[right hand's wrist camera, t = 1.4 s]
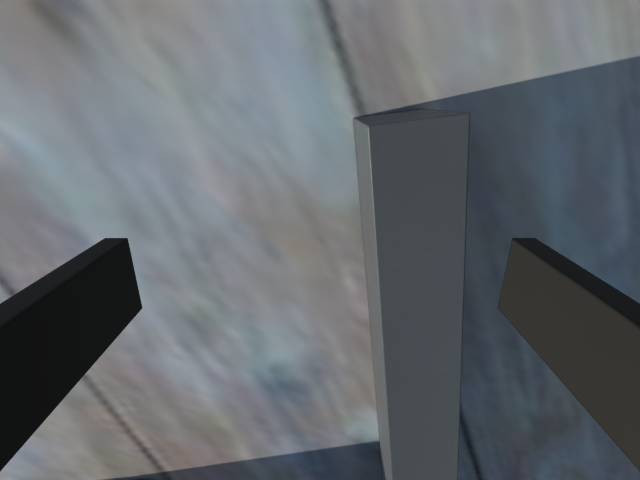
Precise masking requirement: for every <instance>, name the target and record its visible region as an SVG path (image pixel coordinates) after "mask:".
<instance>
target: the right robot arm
mask: <svg viewBox="0 0 640 480" xmlns="http://www.w3.org/2000/svg"><path fill="white" fill-rule="evenodd" d="M141 309H142V304H141V300H140V295H139V290H138V286H137V281H136V276H135V271H134V267H133V262H132V257H131V252H130V248H129V243H128V238H105V239H103V240H101V241H100V242H98V243H97V244H95V245H93V246H92V247H90V248H89V249H87V250H85V251H84V252H82V253H81V254H79V255H77V256H76V257H74V258H73V259H71V260H69V261H68V262H66V263H65V264H63V265H61V266H60V267H58V268H57V269H55V270H54V271H52V272H50V273H49V274H47V275H46V276H44V277H42V278H41V279H39V280H38V281H36V282H34V283H33V284H31V285H30V286H28V287H26V288H25V289H23V290H22V291H20V292H18V293H17V294H15V295H14V296H12V297H10V298H9V299H7V300H6V301H4V302H2V303H1V304H0V471H1V470H2V469H3V468H4V466H5V465H6V464H7V463H8V462H9V461H10V459H11V458H12V457H13V456H14V455H15V454H16V453H17V451H18V450H19V449H20V448H21V447H22V446H23V445H24V443H25V442H26V441H27V440H28V439H29V438H30V436H31V435H32V434H33V433H34V432H35V431H36V430H37V428H38V427H39V426H40V425H41V424H42V423H43V422H44V420H45V419H46V418H47V417H48V416H49V415H50V413H51V412H52V411H53V410H54V409H55V408H56V407H57V405H58V404H59V403H60V402H61V401H62V400H63V399H64V397H65V396H66V395H67V394H68V393H69V392H70V390H71V389H72V388H73V387H74V386H75V385H76V384H77V382H78V381H79V380H80V379H81V378H82V377H83V376H84V374H85V373H86V372H87V371H88V370H89V369H90V368H91V366H92V365H93V364H94V363H95V362H96V361H97V359H98V358H99V357H100V356H101V355H102V354H103V353H104V351H105V350H106V349H107V348H108V347H109V346H110V345H111V343H112V342H113V341H114V340H115V339H116V338H117V336H118V335H119V334H120V333H121V332H122V331H123V330H124V328H125V327H126V326H127V325H128V324H129V323H130V322H131V320H132V319H133V318H134V317H135V316H136V315H137V313H138V312H139V311H140V310H141ZM498 309H499V310H500V311H501V312H502V313H503V315H504V316H505V317H506V318H507V319H508V320H509V322H510V323H511V324H512V325H513V326H514V327H515V328H516V330H517V331H518V332H519V333H520V334H521V335H522V336H523V338H524V339H525V340H526V341H527V342H528V343H529V345H530V346H531V347H532V348H533V349H534V350H535V351H536V353H537V354H538V355H539V356H540V357H541V358H542V359H543V361H544V362H545V363H546V364H547V365H548V366H549V368H550V369H551V370H552V371H553V372H554V373H555V374H556V376H557V377H558V378H559V379H560V380H561V381H562V382H563V384H564V385H565V386H566V387H567V388H568V389H569V390H570V392H571V393H572V394H573V395H574V396H575V397H576V399H577V400H578V401H579V402H580V403H581V404H582V405H583V407H584V408H585V409H586V410H587V411H588V412H589V413H590V415H591V416H592V417H593V418H594V419H595V420H596V422H597V423H598V424H599V425H600V426H601V427H602V428H603V430H604V431H605V432H606V433H607V434H608V435H609V436H610V438H611V439H612V440H613V441H614V442H615V443H616V445H617V446H618V447H619V448H620V449H621V450H622V451H623V453H624V454H625V455H626V456H627V457H628V458H629V459H630V461H631V462H632V463H633V464H634V465H635V466H636V468H637V469H638V470H639V471H640V304H639V303H638V302H636V301H634V300H633V299H631V298H630V297H628V296H626V295H625V294H623V293H622V292H620V291H618V290H617V289H615V288H614V287H612V286H610V285H609V284H607V283H606V282H604V281H602V280H601V279H599V278H598V277H596V276H594V275H593V274H591V273H590V272H588V271H586V270H585V269H583V268H582V267H580V266H579V265H577V264H575V263H574V262H572V261H571V260H569V259H567V258H566V257H564V256H563V255H561V254H559V253H558V252H556V251H555V250H553V249H551V248H550V247H548V246H547V245H545V244H543V243H542V242H540V241H539V240H537V239H535V238H512V243H511V248H510V252H509V257H508V262H507V267H506V271H505V276H504V281H503V286H502V290H501V295H500V300H499V304H498Z"/></svg>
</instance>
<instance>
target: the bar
mask: <svg viewBox="0 0 640 480" xmlns="http://www.w3.org/2000/svg"><path fill="white" fill-rule="evenodd" d="M353 125H354V137H355V149H356V162H357V174H358V186H359V198H360V210H361V222H362V234H363V247H364V259H365V271H366V283H367V295H368V307H369V319H370V332H371V344H372V356H373V368H374V380H375V392H376V404H377V417H378V429H379V441H380V453H381V465H382V477H383V480H458V454H459V425H460V395H461V365H462V335H463V305H464V275H465V245H466V216H467V186H468V156H469V126H470V114H469V113H463V112H452V111H440V110H429V109H418V110H410V111H403V112H395V113H387V114H379V115H371V116H364V117H356V118H353Z"/></svg>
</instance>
